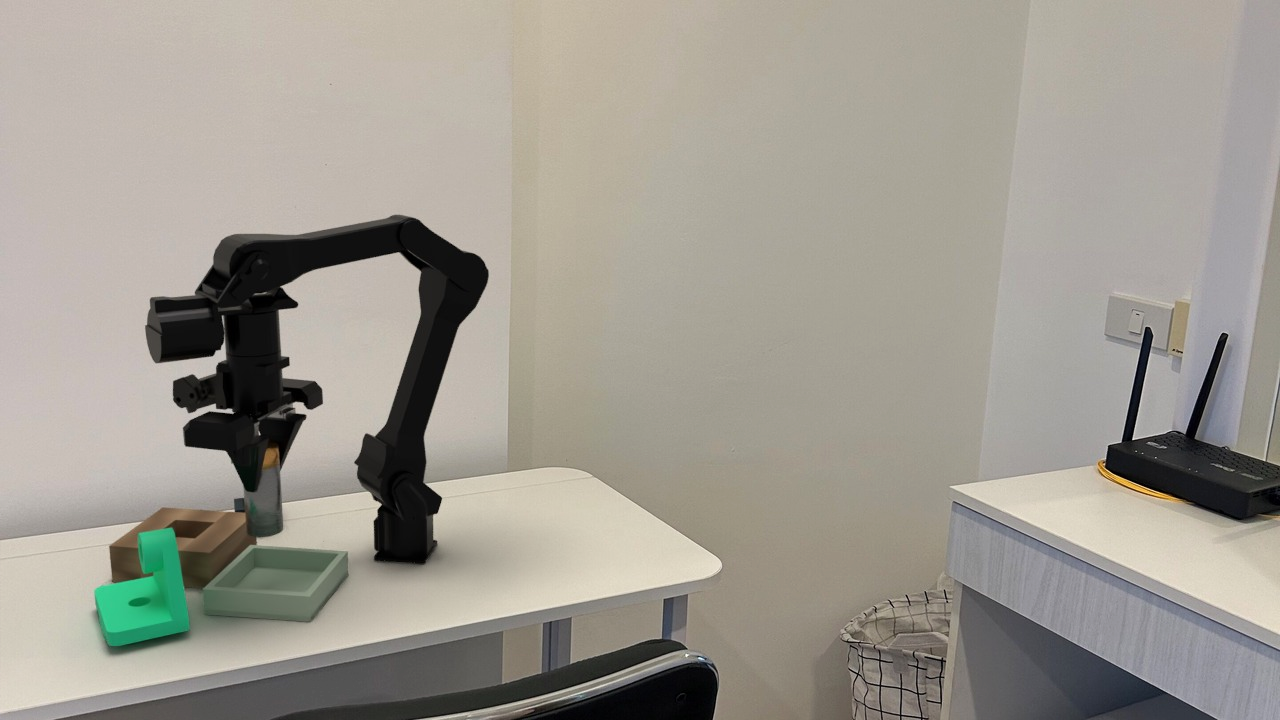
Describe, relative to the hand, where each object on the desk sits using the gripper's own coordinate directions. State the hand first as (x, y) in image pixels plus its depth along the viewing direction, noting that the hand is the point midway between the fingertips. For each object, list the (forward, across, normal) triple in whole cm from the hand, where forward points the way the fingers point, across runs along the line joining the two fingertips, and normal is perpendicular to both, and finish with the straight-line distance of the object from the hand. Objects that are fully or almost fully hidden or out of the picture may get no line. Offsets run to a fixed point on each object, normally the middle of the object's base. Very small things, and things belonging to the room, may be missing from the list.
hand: (262, 484), depth 120 cm
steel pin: (+6, 0, 0) cm, 6 cm away
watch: (+13, -16, -12) cm, 24 cm away
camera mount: (+13, +11, -8) cm, 19 cm away
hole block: (+13, -3, -13) cm, 18 cm away
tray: (+13, +1, +2) cm, 13 cm away
